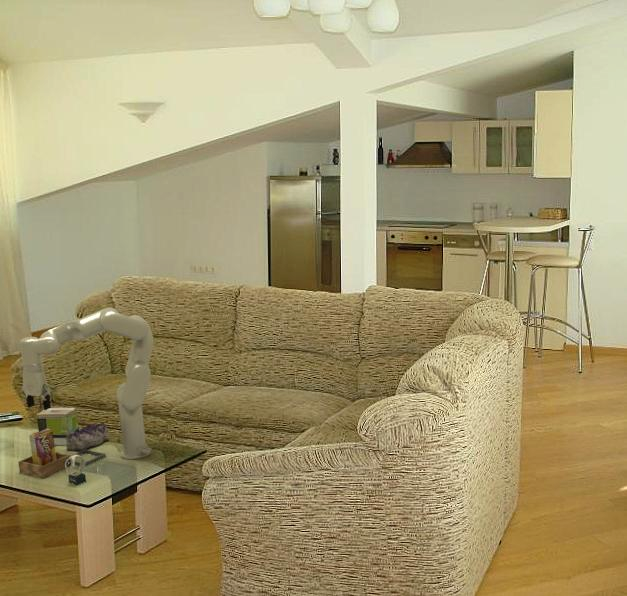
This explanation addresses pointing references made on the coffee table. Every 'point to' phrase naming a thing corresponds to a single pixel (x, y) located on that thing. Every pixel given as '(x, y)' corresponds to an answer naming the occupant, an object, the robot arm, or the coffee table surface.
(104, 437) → the geode
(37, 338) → the robot arm
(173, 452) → the coffee table surface
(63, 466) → the crate
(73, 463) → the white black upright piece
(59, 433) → the tea box
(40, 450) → the candy box
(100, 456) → the grey square frame
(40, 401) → the eiffel tower figurine
